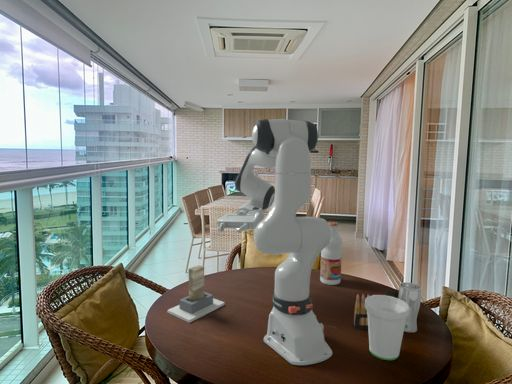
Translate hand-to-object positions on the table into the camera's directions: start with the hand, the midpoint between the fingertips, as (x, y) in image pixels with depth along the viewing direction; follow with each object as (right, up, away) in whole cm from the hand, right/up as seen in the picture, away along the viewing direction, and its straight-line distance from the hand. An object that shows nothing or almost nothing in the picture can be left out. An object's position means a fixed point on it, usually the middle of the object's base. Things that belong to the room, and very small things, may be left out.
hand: (228, 230), depth 133 cm
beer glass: (+63, -32, -18) cm, 73 cm away
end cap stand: (-12, -29, -6) cm, 32 cm away
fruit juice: (+45, -27, +23) cm, 57 cm away
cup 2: (+49, -33, -33) cm, 68 cm away
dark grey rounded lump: (+63, -30, -8) cm, 70 cm away
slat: (-12, -28, -7) cm, 31 cm away
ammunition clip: (+50, -31, -18) cm, 62 cm away
